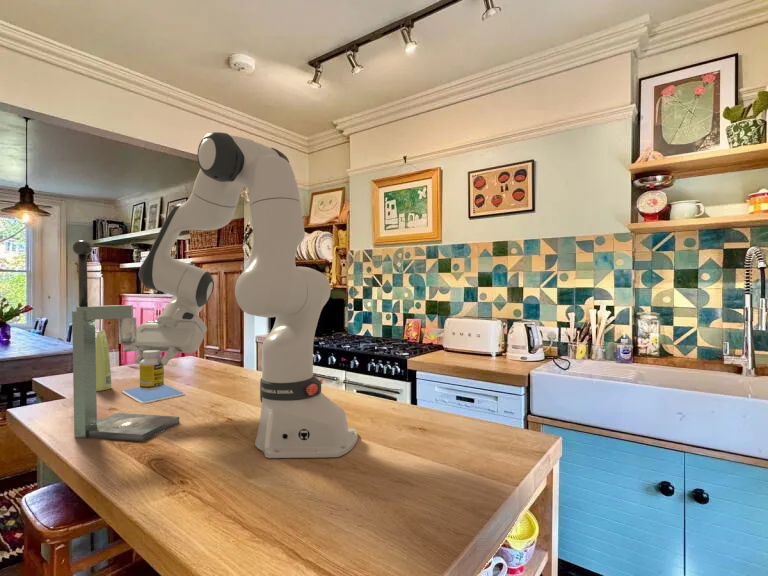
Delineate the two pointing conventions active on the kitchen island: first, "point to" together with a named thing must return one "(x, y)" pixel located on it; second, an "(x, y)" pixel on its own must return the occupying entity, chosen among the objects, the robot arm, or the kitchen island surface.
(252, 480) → the kitchen island surface
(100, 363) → the tube
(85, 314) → the press
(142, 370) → the supplement bottle
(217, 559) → the kitchen island surface
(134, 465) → the kitchen island surface
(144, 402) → the tablet computer
